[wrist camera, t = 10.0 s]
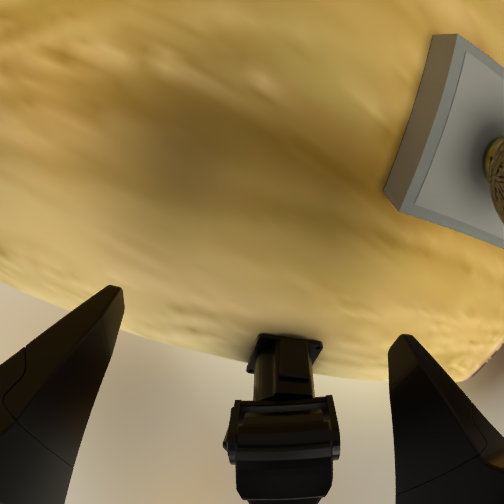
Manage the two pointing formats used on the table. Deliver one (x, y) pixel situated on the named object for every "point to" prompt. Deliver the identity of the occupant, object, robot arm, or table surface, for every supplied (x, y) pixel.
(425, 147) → the slate base
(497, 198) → the cup
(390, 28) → the table surface
